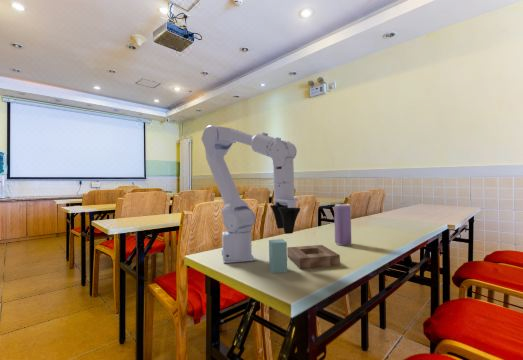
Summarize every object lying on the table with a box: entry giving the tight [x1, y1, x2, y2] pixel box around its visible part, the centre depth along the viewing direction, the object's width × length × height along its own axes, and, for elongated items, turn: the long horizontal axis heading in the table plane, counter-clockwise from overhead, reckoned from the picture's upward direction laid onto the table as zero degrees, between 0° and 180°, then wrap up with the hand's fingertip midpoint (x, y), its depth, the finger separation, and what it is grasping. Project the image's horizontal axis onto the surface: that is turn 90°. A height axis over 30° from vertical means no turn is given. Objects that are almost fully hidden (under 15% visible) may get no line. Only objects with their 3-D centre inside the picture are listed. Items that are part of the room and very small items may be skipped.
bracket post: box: [268, 238, 288, 274], centre depth 71 cm, size 4×4×8 cm
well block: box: [287, 244, 341, 270], centre depth 78 cm, size 12×12×3 cm
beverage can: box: [333, 203, 352, 247], centre depth 97 cm, size 6×6×15 cm
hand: (284, 230), depth 73 cm, fingers open, 7 cm apart
